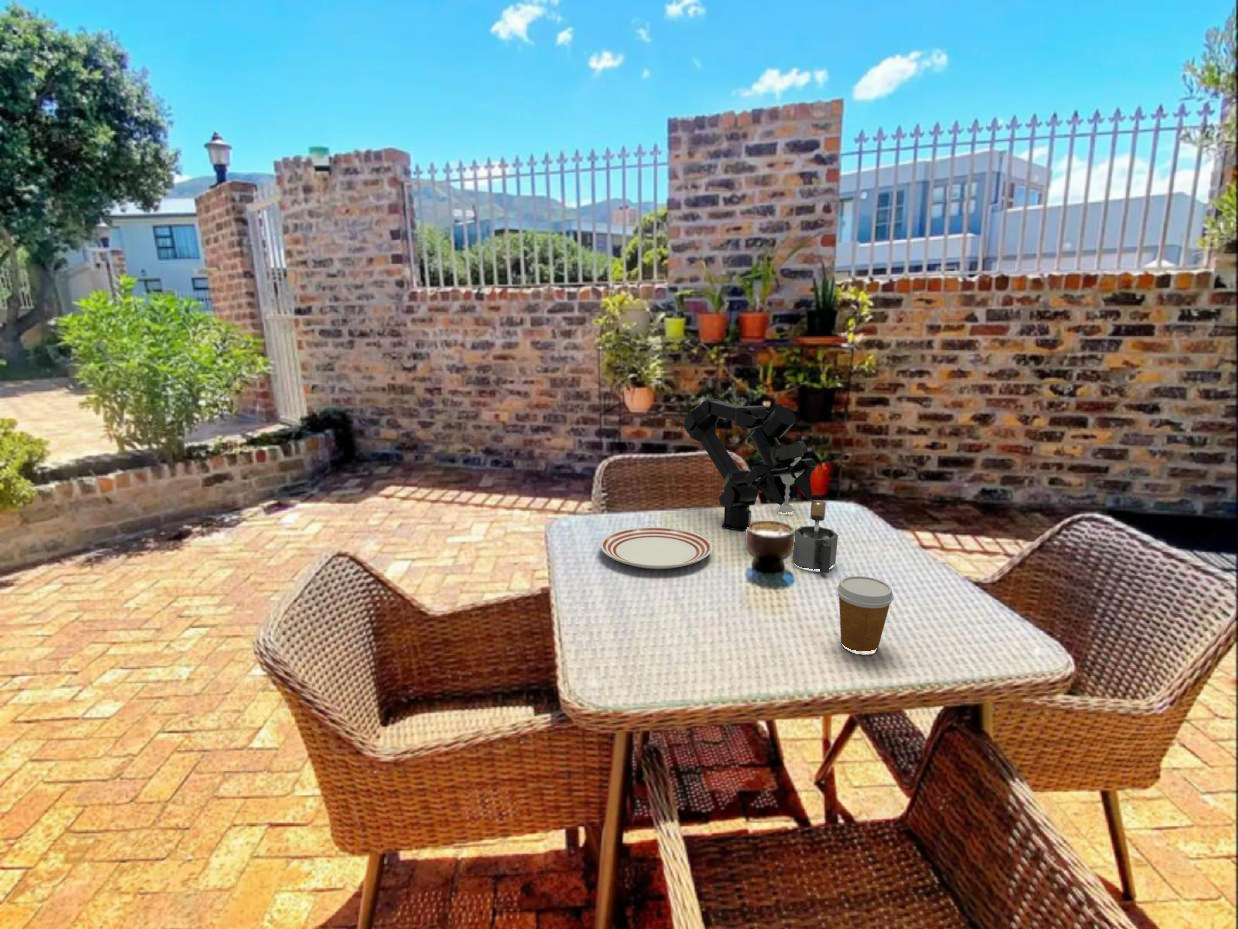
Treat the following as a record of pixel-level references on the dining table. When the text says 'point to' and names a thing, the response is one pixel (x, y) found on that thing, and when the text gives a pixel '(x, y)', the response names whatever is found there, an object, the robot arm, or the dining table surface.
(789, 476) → the chalice
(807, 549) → the press carafe
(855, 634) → the disposable coffee cup
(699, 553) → the dinner plate
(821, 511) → the plunger
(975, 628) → the dining table surface
